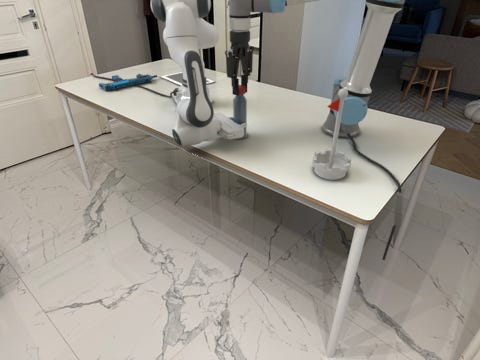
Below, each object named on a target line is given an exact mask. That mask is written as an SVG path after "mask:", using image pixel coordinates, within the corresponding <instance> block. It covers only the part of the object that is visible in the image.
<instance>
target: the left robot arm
mask: <svg viewBox="0 0 480 360" xmlns="http://www.w3.org/2000/svg"><path fill="white" fill-rule="evenodd" d="M211 7H212V1H211V0H150V9H151V12H152V14H153V16H154V17H155V18H156V19H157V20H158V21H161V22H162V23H163V24H165V27H164V29H163V32H162V39H163V42H164V44H165V45H166V46H167V49H168V52H169V56H170V58H171V60H172V61H173V62H174V63H176V64H177V65H178V66H179V67H180V68H181V72H182V73H183V77H182V85H181V86H179V87H175V88H174V89H173V90H172V91H171V92H170V93H169V95H167V94H163V93H161V92H158V91H156V90H154V89H151V88H148V87H145V86H143V85H139V84H134V85H133V86H134V87H138V88H142V89H143V90H147V91H150V92H152V93H154V94H157V95H158V96H162V97H165V98H173V100H174V102H175V103H176V105H175V122H174V125H173V127H172V129H171V132H172V133H171V134H172V137H173V139H174V141H175V142H176V144H177V145H178V146H181V147H191V146H196V145H199V144H201V143H204V142H211V141H215V140H218V139H219V140H220V138H221V137H222V138H223V139H226V140H236V139H237V138H241V137H243V136H244V128H245V127H248V123H245V122H243V123H242V124H241V125H240V124H239V125H238V124H237V123H235V122H234V121H233V116H226V115H225V114H223V113H222V112H215V111H214V107H213V104H212V103H213V99H212V98H211V94H210V88H209V86H208V84H206V78H207V76H206V68H205V66H206V65H205V61H204V60H203V58H201V54H200V50H202V49H204V50H205V49H211V48H214V47H216V45H217V44H218V41H219V37H220V35H219V31H218V29H217V27H216V26H215V25H214V24H211V23H210V22H208V21H206V20H205V19H203V18H207V17H208V15H209V14H210V10H211ZM90 76H92V77H94V78H99V79H103V80H108V81H112V82H114V79H112V78H111V77H110V78H109V77H104V76H100V75H95V74H94V73H93V72H91V73H90Z"/></svg>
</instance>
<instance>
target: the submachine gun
mask: <svg viewBox="0 0 480 360" xmlns="http://www.w3.org/2000/svg"><path fill="white" fill-rule="evenodd" d="M155 78H158V74H155V75H150V74H148V73H147V74H141V73H137V74H136V77H134V78H124V79H123V78H121V77H120V76H119V75H118V74H117V75H112V76H111V79H114V81H112V82H108V83H104V82H99V83H98V87H99V88H100V89H102V90H104V91H111V90H113V91H114V90H116V91H117V90H119V88H124V87H125V88H126V87H128V86H135V85H134V84H137V85H139V84H142V83H149V82H151V81H152V80H153V79H155Z"/></svg>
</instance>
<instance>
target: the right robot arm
mask: <svg viewBox="0 0 480 360" xmlns="http://www.w3.org/2000/svg"><path fill="white" fill-rule="evenodd" d="M318 1H319V0H228V12H229V14H228V16H229V19H228V20H229V22H228V23H229V30H230V31H229V42H230V47H229V48H230V49H228V50H225V51H224V55H225V57H226V77H227V78H229V79H230V80H231V81H230V82H231V83H230V84H231V87H232V88H231V89H232V95H234V96H236V95H237V96H238V95H239V85H244V86H245V88H246V93H245V94H247V93H248V84H249V77H250V76H251V74H252V73H253V62H254V61H253V60H254V50H255V46H253V45H250V44H249V43H250V41H251V31H250V30H251V13H264V14H265V13H267V14H269V13H270V14H282V13H283V12H285V10H286V9H285V8H286V7H288V6H292V5H299V4H300V5H301V4H305V3H311V2H318ZM405 2H406V0H365V2H364V3H365V5H366V7H367V11H366V15H365V18H364V21H363V25H362V27H361V31H360V33H359V37H358V40H357V44H356V45H355V46H356V47H355V50H354V52H353V55H352V59H351V63H350V66H349V69H348V72H347V75H346V76H340V77H337V78H335V79H334V82H333V84H332V87H333V88H332V93H331V101H330V104H332V103H333V102H335V101H336V100H338V99H339V98H340V97H339V95H338V92H339V90H340V89H342V88H344V89H346V90H347V91H348V95H347V96H346V97H345V99H344V105H343V111H342V117H341V123H340V128H339V134H338V138H339V139H341V138H342V139H349V140H350V141H351V143H352V147H353V150H354V151H355V152H356V153H357V155H359V156H361V157H362V158H364V159H366V160H367V161H369V162H370V163H372V164H374V166H375V165H376V166H378V167H379V168H380V169H382V170H383V171H384V172H386V173H387V174H388V175H389V176H390V177H391V179H392V180H393V181H394V182H395V184H396V186H397V191H398V193H399V194H402V186H401V183H400V181H399V179H397V178H396V176H395V175H394V174H393V173H392V172H391V170H389V169H388V168H387V167H385V166H384V165H382V164H381V163H380V162H377V161H375V160H373V159H372V158H370V157H368V156H367V155H366V154H363V152H361V151H360V150H358V148H357V147H356V146H357V144H356V142H355V140H354V137H356V136H357V135H359V132H360V125H359V123H360V122H362V121H363V120H364V119H365V118H366V116H367V114H368V110H369V109H368V108H369V107H368V104H369V100H370V97H371V95H372V91H373V90H372V88H371V86H370V85H371V81H372V79H373V76H374V73H375V71H376V69H377V65H378V62H379V59H380V56H381V54H382V51H383V48H384V45H385V43H386V40H387V37H388V34H389V32H390V29H391V26H392V23H393V20H394V17H395V15H396V14H397V13H399V12H400V11H402V9H403V7H404V4H405ZM240 65H241V66H240ZM239 67H241V72H242V74H240V79H239V78H238V75H239ZM239 82H240V83H239ZM337 112H338V111H336V110H333V109H331V108H329V112H328V115H327V117H326V120H325V121H324V123H323V126H322V130H323V132H324V133H325V134H326V135H329V136H332V137H333V136H334V130H335V124H336V118H337ZM396 228H397V224H394V225H393V226H392V228H391V232H390V234H389V237H388V240H387V243H386V246H385V249H384V252H383V255H382V260H383V261H385V260H386V258H387V254H388V251H389V249H390V246H391V242H392V239H393V237H394V234H395V231H396Z"/></svg>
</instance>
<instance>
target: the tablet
mask: <svg viewBox="0 0 480 360" xmlns="http://www.w3.org/2000/svg"><path fill="white" fill-rule="evenodd" d="M182 77H183V73H182V71H179V72H174V73H169V74H165V75H164V74H163V75H161V76H160V78H162V79H164V80H166V81H168V82H170V83H174V84H176V85H178V86H179V87H181V85H182ZM213 83H216V81H215V80H212V79H210V78H207V77H206V85H209V84H213Z"/></svg>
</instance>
